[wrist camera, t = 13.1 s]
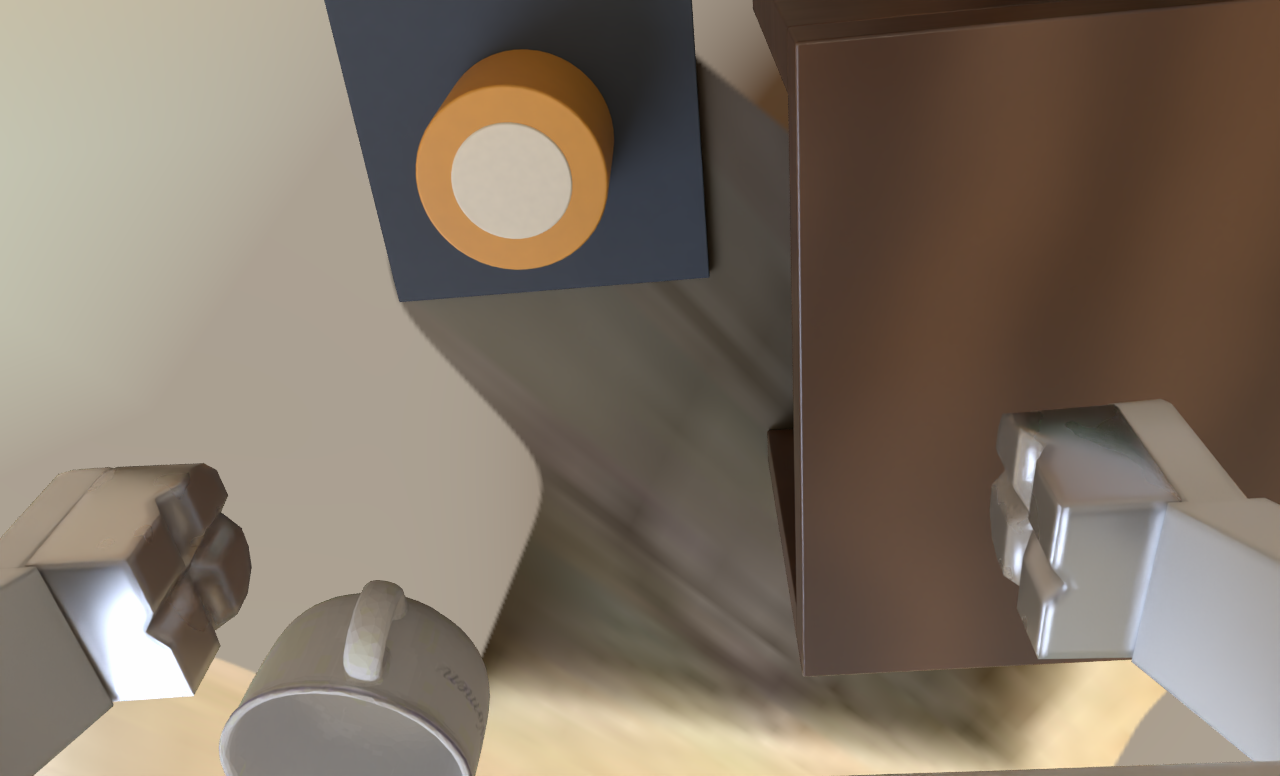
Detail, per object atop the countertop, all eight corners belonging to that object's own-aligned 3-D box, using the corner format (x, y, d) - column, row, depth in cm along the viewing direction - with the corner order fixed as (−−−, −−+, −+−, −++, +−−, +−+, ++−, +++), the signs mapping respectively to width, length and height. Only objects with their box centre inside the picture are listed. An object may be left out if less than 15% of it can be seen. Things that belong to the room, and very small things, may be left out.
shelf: (1199, -87, 31) (1467, -22, 21) (1103, 438, 41) (1249, 654, 31) (751, -42, 32) (795, 42, 21) (767, 460, 42) (802, 677, 32)
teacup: (459, 738, 52) (428, 883, 45) (255, 678, 50) (191, 820, 43) (555, 556, 45) (537, 693, 38) (324, 476, 43) (261, 607, 36)
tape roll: (603, 40, 33) (596, 76, 29) (622, 210, 36) (618, 263, 32) (427, 56, 33) (395, 94, 29) (460, 223, 36) (436, 278, 32)
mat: (687, -70, 31) (687, -68, 31) (709, 273, 38) (709, 277, 37) (320, -32, 32) (316, -30, 32) (401, 297, 38) (399, 302, 38)
